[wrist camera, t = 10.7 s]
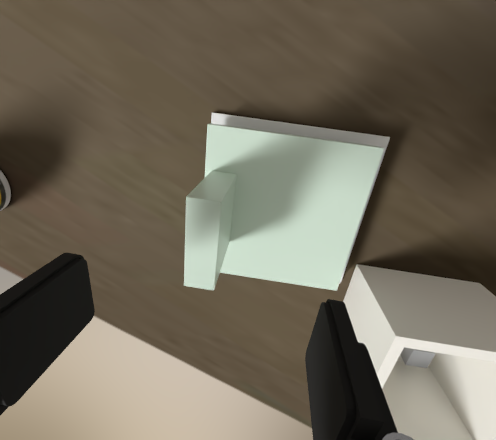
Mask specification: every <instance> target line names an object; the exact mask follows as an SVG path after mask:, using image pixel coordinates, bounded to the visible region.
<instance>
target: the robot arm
mask: <svg viewBox="0 0 496 440" xmlns="http://www.w3.org/2000/svg"><path fill="white" fill-rule="evenodd" d="M93 316H94V304H93V298H92V291H91V285H90V279H89V272H88V266H87V261H86V260H84V258H83V256H81V255H77V254H72V253H64V254H62V255H60V256H59V257H57V258H56V259H54V260H53V261H51V262H49V263H48V264H46V265H45V266H43V267H42V268H40V269H39V270H37V271H36V272H34V273H33V274H31V275H30V276H28V277H27V278H25V279H23V280H22V281H20V282H19V283H17V284H16V285H14V286H13V287H11V288H10V289H8V290H7V291H5V292H4V293H2V294H1V295H0V415H1V414H2V413H3V412H4V411H5V410H6V409H7V408H8V407H9V406H12V405H13V404H15V403H16V402H17V401H18V400H19V399H20V398H21V397H22V396H23V395H24V393H25V392H26V391H27V390H28V389H29V388H30V387H31V386H32V385H33V383H35V381H36V380H37V379H38V378H39V377H40V376H41V375H42V374H43V373H44V372H45V370H46V369H47V368H48V367H49V366H50V365H51V363H53V362H54V360H55V359H56V358H57V357H58V356H59V355H60V354H61V353H62V352H63V351H64V349H65V348H66V347H67V346H68V345H69V344H70V343H71V342H72V341H73V340H74V338H75V337H76V336H77V335H78V334H79V333H80V332H81V331H82V330H83V329H84V327H85V326H86V325H87V324H88V323H89V322H90V321H91V319H92V318H93ZM305 361H306V371H307V381H308V391H309V401H310V411H311V421H312V431H313V440H414V439H413V438H411V437H409V436H407V435H404V434H402V433H398V431H397V428H396V426H395V423H394V420H393V417H392V415H391V412H390V409H389V407H388V404H387V401H386V398H385V396H384V393H383V390H382V387H381V385H380V382H379V379H378V377H377V374H376V371H375V368H374V366H373V363H372V360H371V357H370V355H369V352H368V349H367V347H366V346H365V344H364V343H359V342H358V341H357V338H356V335H355V332H354V329H353V326H352V323H351V320H350V317H349V314H348V311H347V308H346V305H345V303H344V302H341V301H336V300H330V299H328V300H327V302H326V303H325V302H322V303H321V306H320V309H319V312H318V315H317V319H316V322H315V325H314V328H313V331H312V335H311V338H310V341H309V344H308V347H307V351H306V358H305Z"/></svg>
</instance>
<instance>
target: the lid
mask: <svg viewBox="0 0 496 440" xmlns="http://www.w3.org/2000/svg"><path fill="white" fill-rule="evenodd" d="M383 151H384V148H382V147H379V146H372V145H365V144H357V143H350V142H343V141H336V140H328V139H321V138H314V137H307V136H299V135H292V134H285V133H278V132H270V131H263V130H256V129H249V128H241V127H234V126H227V125H220V124H212V123H210V124H208V127H207V145H206V163H205V178H204V179H203V180H202V181H201V182H200V183H199V184H198V185H197V186H196V187H195V188H194V189H193V190H192V192H191V193H190V194H189V195H188V196H187V197H186V226H185V267H184V286H189V287H195V288H202V289H208V290H214V288H215V285H216V282H217V279H218V276H219V273H227V274H233V275H240V276H246V277H252V278H259V279H265V280H272V281H278V282H285V283H291V284H297V285H304V286H310V287H317V288H323V289H330V290H336V291H337V288H338V285H339V282H340V279H341V276H342V273H343V271H344V268H345V265H346V262H347V259H348V256H349V253H350V250H351V247H352V244H353V241H354V238H355V235H356V232H357V229H358V226H359V223H360V220H361V217H362V214H363V211H364V208H365V205H366V202H367V199H368V196H369V193H370V190H371V187H372V184H373V181H374V178H375V175H376V172H377V169H378V166H379V163H380V160H381V157H382V154H383Z"/></svg>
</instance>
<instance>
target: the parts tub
mask: <svg viewBox="0 0 496 440" xmlns="http://www.w3.org/2000/svg"><path fill="white" fill-rule="evenodd" d="M343 302H344V303H345V305H346V308H347V311H348V314H349V317H350V320H351V323H352V326H353V329H354V332H355V335H356V338H357V341H358V342H359V343H364V344H365V346H366V347H367V349H368V352H369V355H370V357H371V360H372V363H373V366H374V368H375V371H376V374H377V377H378V379H379V382H380V385H381V387H382V390H383V393H384V396H385V398H386V401H387V404H388V407H389V409H390V412H391V415H392V417H393V420H394V423H395V426H396V428H397V431H398V433H402V434H404V435H407V436H409V437H411V438H413V439H414V440H496V296H495V295H493V294H492V293H491V292H490V291H489V290H487V289H486V288H485V287H484V286H483V285H481V284H480V283H476V282H469V281H463V280H456V279H450V278H443V277H437V276H430V275H424V274H417V273H411V272H404V271H398V270H391V269H385V268H378V267H372V266H365V265H359V264H357V265H356V267H355V270H354V273H353V276H352V279H351V281H350V284H349V287H348V290H347V293H346V295H345V298H344V301H343Z"/></svg>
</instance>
